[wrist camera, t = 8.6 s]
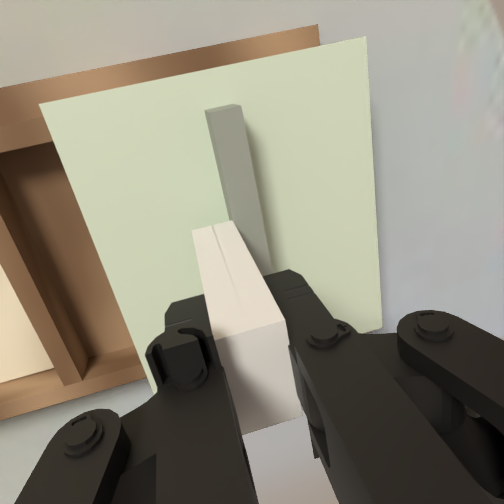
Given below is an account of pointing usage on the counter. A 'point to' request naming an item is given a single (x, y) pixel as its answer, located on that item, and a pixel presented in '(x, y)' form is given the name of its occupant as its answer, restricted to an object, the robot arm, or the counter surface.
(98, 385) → the brown compartment box
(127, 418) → the robot arm
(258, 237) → the lid
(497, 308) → the counter surface
